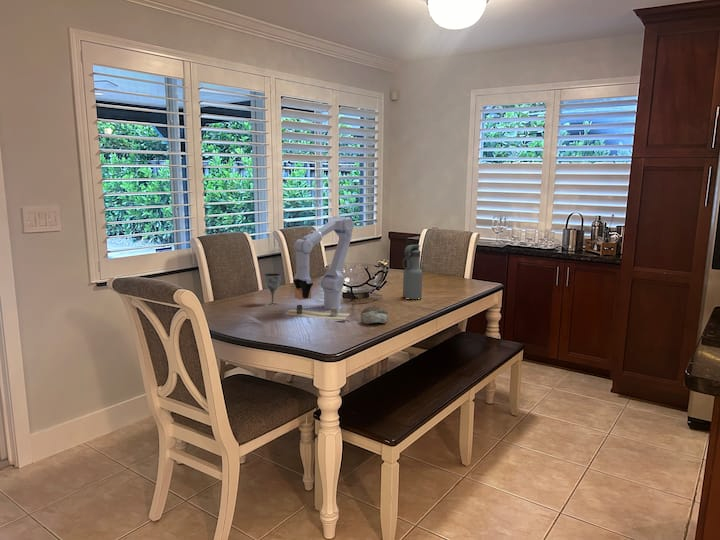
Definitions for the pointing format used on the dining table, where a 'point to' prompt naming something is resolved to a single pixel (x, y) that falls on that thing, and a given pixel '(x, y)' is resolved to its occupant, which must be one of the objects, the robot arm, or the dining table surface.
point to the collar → (299, 294)
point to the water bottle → (412, 273)
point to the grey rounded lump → (374, 315)
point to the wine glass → (272, 284)
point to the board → (318, 314)
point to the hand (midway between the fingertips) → (302, 296)
